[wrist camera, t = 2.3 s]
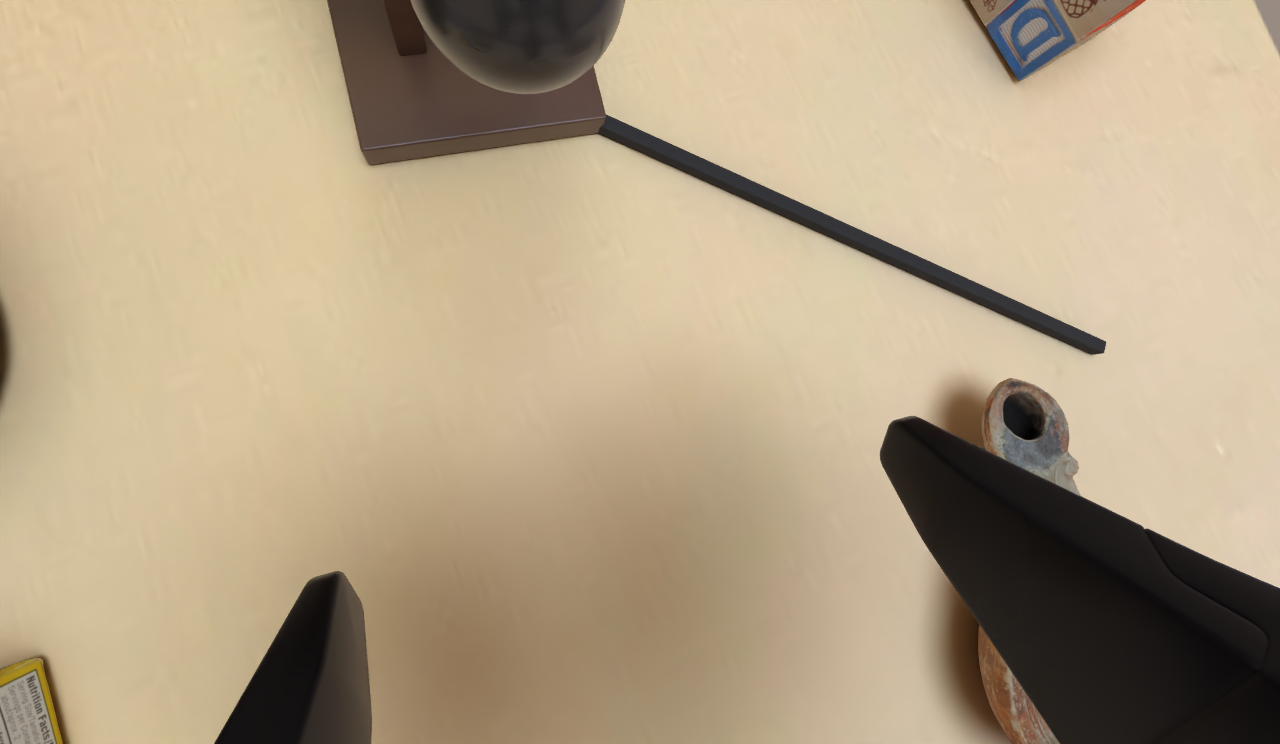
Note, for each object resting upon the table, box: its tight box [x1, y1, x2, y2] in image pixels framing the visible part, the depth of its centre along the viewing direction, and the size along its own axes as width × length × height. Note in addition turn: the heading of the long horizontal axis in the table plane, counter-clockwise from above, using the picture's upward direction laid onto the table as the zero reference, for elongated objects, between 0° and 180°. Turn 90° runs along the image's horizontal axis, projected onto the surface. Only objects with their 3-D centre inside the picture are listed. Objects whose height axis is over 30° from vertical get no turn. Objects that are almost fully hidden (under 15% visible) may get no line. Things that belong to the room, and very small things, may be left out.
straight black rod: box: [598, 115, 1106, 354], centre depth 26 cm, size 25×1×1 cm, turn 70°
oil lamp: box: [978, 378, 1081, 744], centre depth 21 cm, size 9×21×10 cm, turn 12°
